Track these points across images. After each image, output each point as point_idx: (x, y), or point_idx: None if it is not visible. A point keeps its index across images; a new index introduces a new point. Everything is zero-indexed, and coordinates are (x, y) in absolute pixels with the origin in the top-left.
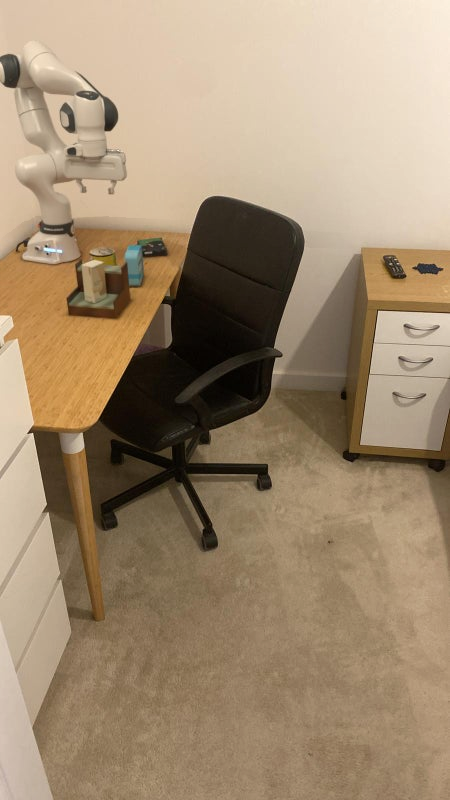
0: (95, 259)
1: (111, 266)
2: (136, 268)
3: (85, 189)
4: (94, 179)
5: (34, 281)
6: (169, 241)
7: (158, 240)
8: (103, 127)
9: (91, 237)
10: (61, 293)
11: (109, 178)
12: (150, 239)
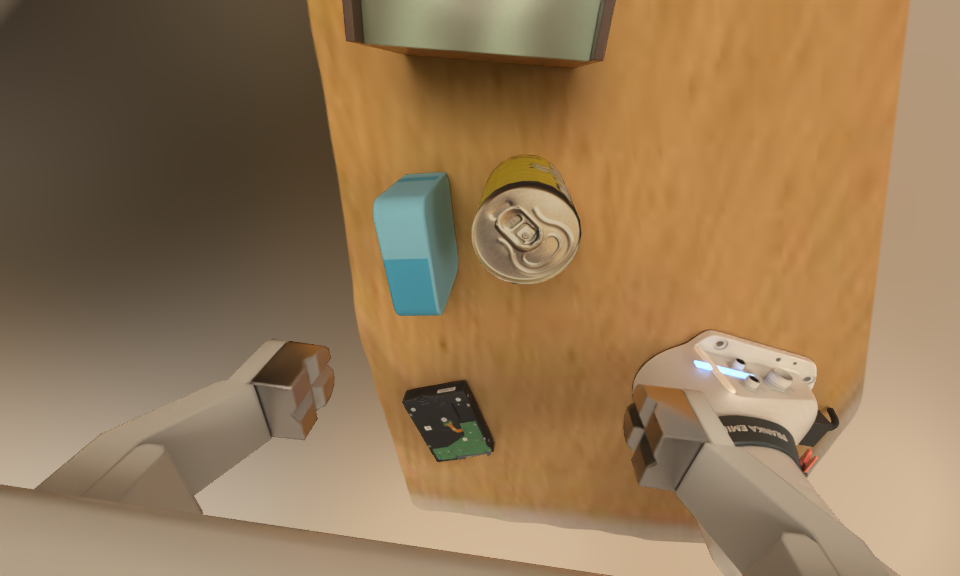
0: (545, 180)
1: (432, 32)
2: (393, 187)
3: (641, 439)
4: (444, 551)
5: (776, 198)
6: (427, 459)
7: (439, 448)
8: None
9: (617, 482)
10: (668, 93)
11: (24, 535)
12: (460, 454)
